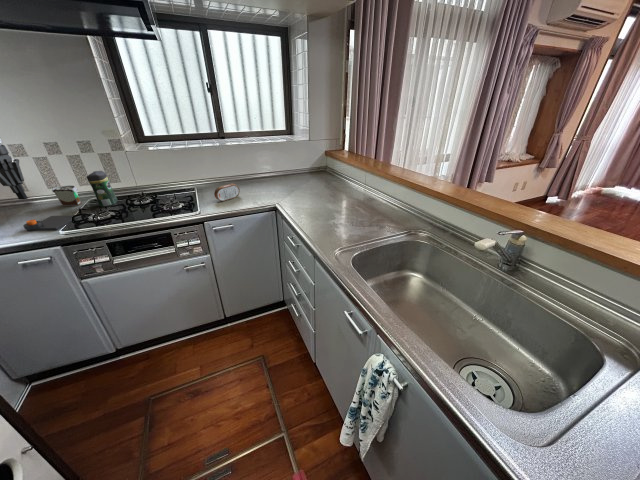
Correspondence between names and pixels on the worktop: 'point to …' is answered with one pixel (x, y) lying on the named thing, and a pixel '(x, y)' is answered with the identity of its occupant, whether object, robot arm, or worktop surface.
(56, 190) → the food container
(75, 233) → the worktop surface
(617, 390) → the worktop surface
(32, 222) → the tare button
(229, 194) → the tin
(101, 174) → the coffee jar
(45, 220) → the scale
